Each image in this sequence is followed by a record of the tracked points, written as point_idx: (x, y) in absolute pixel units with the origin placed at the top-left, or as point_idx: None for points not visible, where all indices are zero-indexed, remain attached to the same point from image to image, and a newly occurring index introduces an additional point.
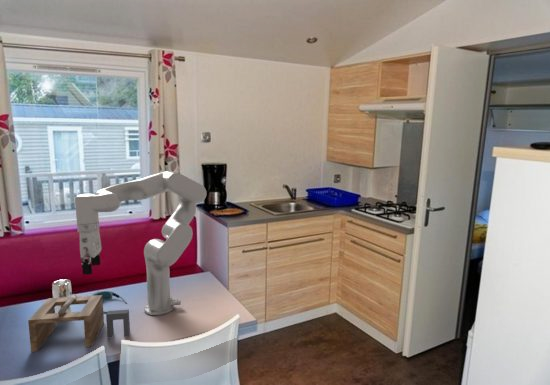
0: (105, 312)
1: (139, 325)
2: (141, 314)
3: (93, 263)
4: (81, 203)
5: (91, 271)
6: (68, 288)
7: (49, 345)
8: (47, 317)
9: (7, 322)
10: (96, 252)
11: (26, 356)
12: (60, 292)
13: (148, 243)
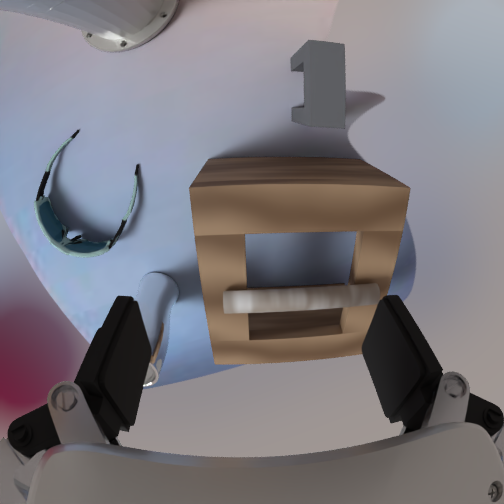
0: (137, 178)
1: (245, 35)
2: (159, 49)
3: (145, 354)
4: None
5: (406, 310)
6: None
7: (323, 268)
8: (370, 318)
9: (195, 374)
10: (405, 496)
11: None
12: (163, 348)
13: None
